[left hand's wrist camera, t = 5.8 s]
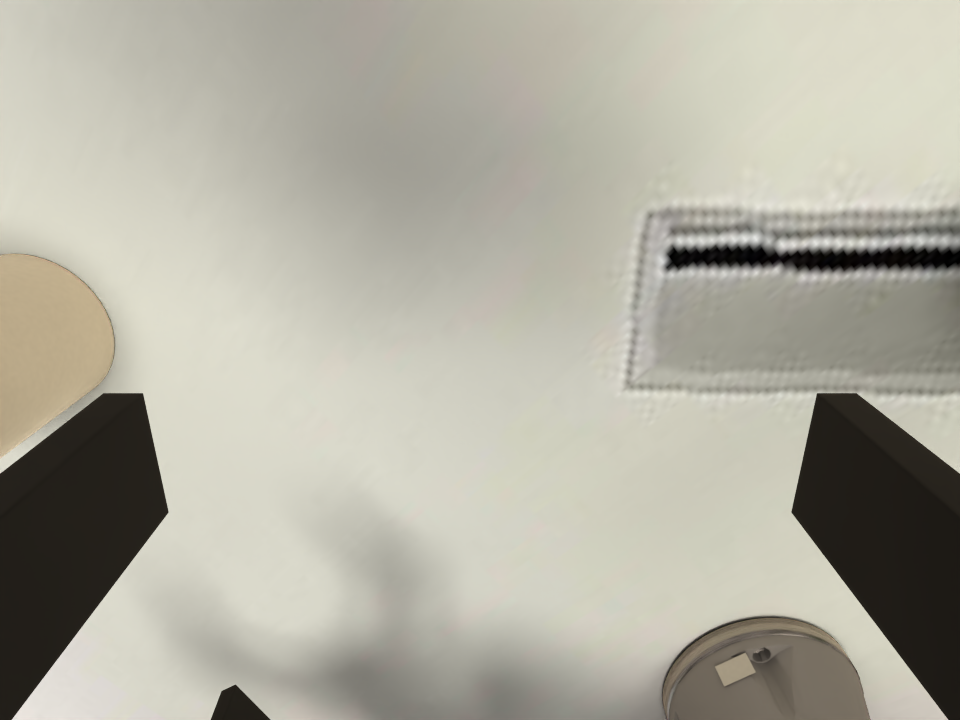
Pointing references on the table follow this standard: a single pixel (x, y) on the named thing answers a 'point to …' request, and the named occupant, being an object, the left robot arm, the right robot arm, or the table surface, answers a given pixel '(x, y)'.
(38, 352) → the jar
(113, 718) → the table surface
